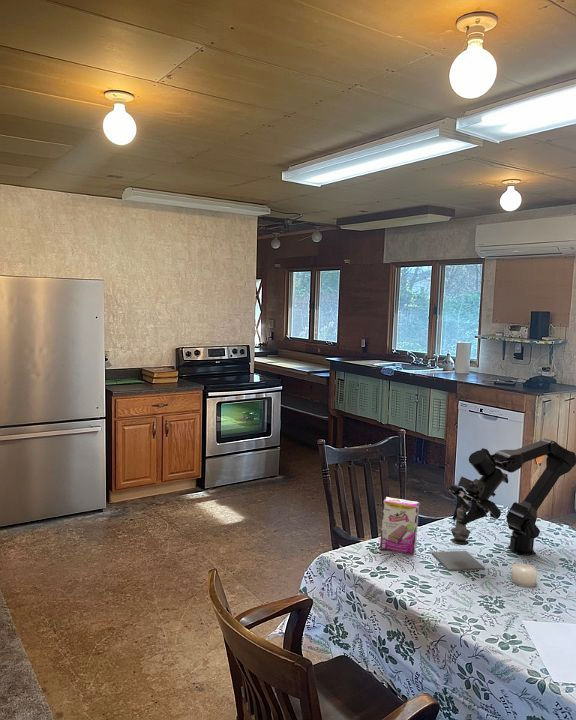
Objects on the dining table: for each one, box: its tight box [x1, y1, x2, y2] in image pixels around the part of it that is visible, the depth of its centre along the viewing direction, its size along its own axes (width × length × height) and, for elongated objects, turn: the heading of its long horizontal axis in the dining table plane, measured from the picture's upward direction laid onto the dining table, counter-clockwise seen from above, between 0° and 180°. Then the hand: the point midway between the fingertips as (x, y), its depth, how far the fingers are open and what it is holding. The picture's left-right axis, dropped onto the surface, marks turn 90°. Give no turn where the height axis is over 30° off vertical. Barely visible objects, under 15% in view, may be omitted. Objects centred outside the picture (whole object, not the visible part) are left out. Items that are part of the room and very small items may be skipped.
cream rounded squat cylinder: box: [510, 562, 538, 588], centre depth 173 cm, size 7×7×4 cm
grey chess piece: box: [450, 505, 471, 546], centre depth 183 cm, size 6×6×12 cm
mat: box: [431, 550, 486, 572], centre depth 184 cm, size 12×12×1 cm
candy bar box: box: [379, 496, 420, 556], centre depth 190 cm, size 11×5×16 cm, turn 71°
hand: (457, 521), depth 182 cm, fingers closed on grey chess piece, 4 cm apart
